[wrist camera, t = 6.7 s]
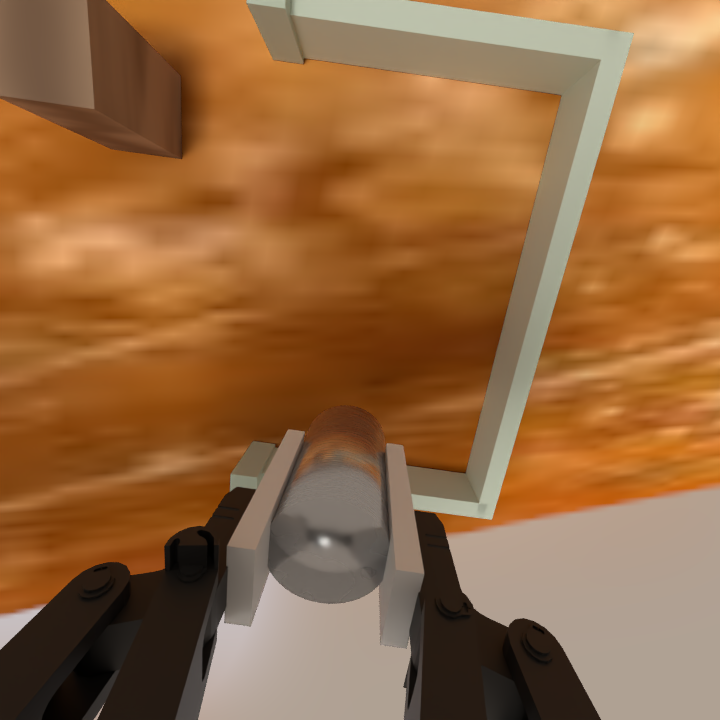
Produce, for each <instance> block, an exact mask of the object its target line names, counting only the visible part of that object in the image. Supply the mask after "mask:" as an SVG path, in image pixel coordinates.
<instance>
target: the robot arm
mask: <svg viewBox="0 0 720 720" xmlns="http://www.w3.org/2000/svg"><path fill="white" fill-rule="evenodd" d="M304 435H305V431H298V430H290V429H288V431H287V432H286V434H285V436H284V438H283V440H282V442H281V444H280V446H279V448H278V450H277V452H276V453H275V455H274V457H273V459H272V461H271V463H270V465H269V467H268V469H267V471H266V472H265V474H264V476H263V478H262V480H261V482H260V484H259V486H258V488H257V489H250V488H243V487H236V488H234V489H233V490H232V491H230V492H229V493H227V494H226V495H225V496H224V498H223V499H222V501H221V503H220V504H219V506H218V508H217V509H216V510H215V512H214V513H213V515H212V517H211V518H210V519H209V521H208V523H207V524H206V526H205V527H203V526H196V527H189V528H187V529H184V530H182V531H179V532H178V533H176V534H175V535H174V536H172V537H171V538H170V539H169V540H168V542H167V543H166V544H165V546H164V548H165V569H163V570H160V571H155V572H150V573H143V574H137V575H130V571H129V570H128V568H127V566H125V565H123V564H121V563H119V562H107V563H103V564H99V565H95V566H93V567H91V568H89V569H87V570H85V571H83V572H82V573H81V574H79V575H78V576H77V577H75V578H74V579H73V580H72V581H71V582H70V583H69V584H68V585H67V586H66V587H64V588H63V589H62V590H61V591H60V592H59V593H58V594H57V595H56V596H55V597H54V598H53V599H52V600H51V601H50V602H49V603H48V604H47V605H46V606H45V607H44V608H43V609H42V610H41V611H40V612H39V613H38V614H37V615H36V616H35V617H34V618H33V619H32V620H31V621H30V622H28V624H26V625H25V626H24V627H23V628H22V629H21V631H19V632H18V633H17V634H16V635H15V636H14V637H13V638H12V639H11V640H10V641H9V642H8V643H7V644H6V645H5V646H4V647H3V648H2V649H1V650H0V720H93V719H94V718H95V717H96V715H97V714H98V712H99V711H100V709H101V708H102V706H103V705H104V706H103V709H102V711H101V713H100V715H99V717H98V719H97V720H198V717H199V712H200V708H201V704H202V700H203V696H204V691H205V687H206V683H207V679H208V675H209V670H210V666H211V662H212V657H213V653H214V649H215V645H216V641H217V627H218V625H219V622H220V620H221V618H222V615H223V613H224V611H225V619H224V623H229V624H237V625H243V626H251V624H252V621H253V618H254V615H255V612H256V610H257V607H258V604H259V601H260V598H261V594H262V592H263V589H264V586H265V583H266V580H267V577H268V574H269V571H270V570H269V568H268V553H269V540H270V526H271V522H272V520H273V517H274V515H275V512H276V510H277V507H278V505H279V502H280V500H281V497H282V495H283V493H284V490H285V488H286V485H287V483H288V480H289V478H290V475H291V473H292V470H293V468H294V465H295V463H296V460H297V458H298V455H299V453H300V451H301V448H302V446H303V443H304ZM385 467H386V486H387V504H388V523H389V541H390V546H389V551H388V556H387V561H386V566H385V571H384V576H383V581H382V582H381V583H380V584H379V600H380V601H379V602H380V603H379V604H380V645H385V646H392V647H399V648H407V645H408V640H409V636H410V644H411V658H410V662H409V666H408V670H407V674H406V678H405V682H404V686H403V687H404V688H406V703H405V714H404V720H601V719H600V717H599V715H598V713H597V711H596V710H595V708H594V706H593V704H592V702H591V700H590V698H589V696H588V695H587V693H586V691H585V689H584V687H583V685H582V683H581V682H580V680H579V678H578V676H577V674H576V672H575V671H574V669H573V667H572V665H571V663H570V661H569V659H568V658H567V656H566V654H565V652H564V650H563V648H562V647H561V645H560V644H559V643H558V641H557V640H556V638H555V637H554V636H553V635H552V634H551V633H550V632H549V631H548V630H547V629H546V628H544V627H543V626H541V625H539V624H538V623H536V622H534V621H531V620H528V619H524V618H523V619H515V620H514V621H513V622H512V623H511V624H510V625H509V627H506V626H504V625H502V624H500V623H498V622H495V621H493V620H491V619H489V618H487V617H485V616H484V615H482V614H480V613H479V612H478V611H476V610H475V609H474V608H473V605H472V603H471V602H470V601H469V599H468V597H467V596H466V595H465V594H464V593H462V591H461V588H460V585H459V581H458V577H457V574H456V570H455V566H454V563H453V559H452V555H451V552H450V550H449V544H448V540H447V539H446V533H445V529H444V526H443V524H442V522H441V521H440V520H439V518H438V517H437V516H436V514H434V513H427V512H420V511H414V508H413V502H412V496H411V490H410V484H409V478H408V472H407V466H406V460H405V454H404V448H403V445H397V444H390V443H386V449H385ZM104 703H105V704H104Z"/></svg>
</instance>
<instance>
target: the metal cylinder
mask: <svg viewBox="0 0 720 720" xmlns="http://www.w3.org/2000/svg"><path fill="white" fill-rule="evenodd" d="M389 546H390V541H389V523H388V504H387V486H386V467H385V437H384V432H383V430H382V427H381V425H380V424H379V422H378V421H377V420H376V419H375V418H374V417H373V416H372V415H371V414H370V413H368V412H367V411H365V410H363V409H361V408H358V407H354V406H346V405H344V406H336V407H332V408H329V409H327V410H325V411H323V412H322V413H320V414H319V415H318V416H317V417H316V418H315V419H314V421H313V422H312V424H311V426H310V428H309V430H308V433H307V435H306V437H305V440H304V443H303V446H302V448H301V451H300V453H299V455H298V458H297V460H296V463H295V465H294V468H293V470H292V473H291V475H290V478H289V480H288V483H287V485H286V488H285V490H284V493H283V495H282V497H281V500H280V502H279V505H278V507H277V510H276V512H275V515H274V517H273V520H272V522H271V526H270V540H269V553H268V568H269V570H270V572H271V573H272V575H273V576H274V578H275V579H276V580H277V581H278V582H279V583H280V584H281V585H282V586H283V587H284V588H286V589H287V590H289V591H290V592H292V593H293V594H295V595H297V596H299V597H302V598H304V599H307V600H310V601H314V602H319V603H328V604H333V603H334V604H335V603H345V602H349V601H353V600H356V599H359V598H361V597H363V596H365V595H367V594H369V593H370V592H372V591H373V590H374V589H375V588H376V587H377V586H378V585H379V584H380V583H381V582H382V581H383V576H384V571H385V566H386V561H387V556H388V551H389Z"/></svg>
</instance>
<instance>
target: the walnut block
mask: <svg viewBox="0 0 720 720" xmlns="http://www.w3.org/2000/svg"><path fill="white" fill-rule="evenodd" d="M0 98H1V99H3V100H5V101H7V102H10V103H12V104H14V105H16V106H18V107H21V108H23V109H25V110H27V111H29V112H31V113H34V114H36V115H38V116H40V117H42V118H45V119H47V120H49V121H51V122H53V123H56V124H58V125H60V126H62V127H64V128H67V129H69V130H71V131H73V132H75V133H77V134H80V135H82V136H84V137H86V138H88V139H91V140H93V141H95V142H97V143H99V144H102V145H104V146H106V147H108V148H110V149H114V150H121V151H128V152H135V153H142V154H149V155H156V156H163V157H171V158H178V159H182V135H181V75H180V74H179V73H178V72H177V71H176V70H175V69H174V68H173V67H172V66H171V65H170V64H169V63H168V62H167V61H166V60H165V59H164V58H163V57H162V56H161V55H160V54H159V53H158V52H157V51H156V50H155V49H154V48H153V47H152V46H151V45H150V44H149V43H148V42H147V41H146V40H145V39H144V38H143V37H142V36H141V35H140V34H139V33H138V32H137V31H136V30H135V29H134V28H133V27H132V26H131V25H130V24H129V23H128V22H127V21H126V20H125V19H124V18H123V17H122V16H121V15H120V14H119V13H118V12H117V11H116V10H115V9H114V8H113V7H112V6H111V5H110V4H109V3H108V2H107V1H106V0H0Z"/></svg>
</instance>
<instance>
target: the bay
mask: <svg viewBox="0 0 720 720" xmlns="http://www.w3.org/2000/svg"><path fill="white" fill-rule="evenodd" d="M247 5H248V7H249V9H250V11H251V13H252V16H253V18H254V20H255V22H256V24H257V26H258V28H259V30H260V33H261V35H262V37H263V39H264V41H265V43H266V45H267V47H268V50H269V52H270V54H271V56H272V58H273V60H278V61H285V62H292V63H299V64H304V58H307V59H314V60H321V61H328V62H335V63H342V64H349V65H356V66H363V67H370V68H377V69H384V70H391V71H398V72H404V73H411V74H418V75H425V76H432V77H439V78H446V79H453V80H460V81H467V82H474V83H481V84H488V85H495V86H502V87H509V88H516V89H523V90H530V91H537V92H544V93H551V94H558V95H562V96H561V100H560V104H559V108H558V112H557V116H556V120H555V124H554V128H553V132H552V136H551V140H550V144H549V147H548V151H547V155H546V159H545V163H544V167H543V171H542V175H541V179H540V183H539V187H538V191H537V195H536V199H535V202H534V206H533V210H532V214H531V218H530V222H529V226H528V230H527V234H526V238H525V242H524V246H523V250H522V254H521V257H520V261H519V265H518V269H517V273H516V277H515V281H514V285H513V289H512V293H511V297H510V301H509V305H508V309H507V312H506V316H505V320H504V324H503V328H502V332H501V336H500V340H499V344H498V348H497V352H496V356H495V360H494V364H493V367H492V371H491V375H490V379H489V383H488V387H487V391H486V395H485V399H484V403H483V407H482V411H481V415H480V418H479V422H478V426H477V430H476V434H475V438H474V442H473V446H472V450H471V454H470V458H469V462H468V466H467V470H466V473H458V472H450V471H443V470H436V469H429V468H421V467H414V466H407V465H406V466H407V472H408V478H409V484H410V490H411V496H412V502H413V508H414V509H417V510H424V511H432V512H439V513H446V514H454V515H461V516H468V517H476V518H483V519H490V520H492V518H493V514H494V511H495V507H496V504H497V500H498V497H499V494H500V490H501V487H502V483H503V480H504V477H505V473H506V470H507V466H508V463H509V459H510V456H511V453H512V449H513V446H514V442H515V439H516V435H517V432H518V429H519V425H520V422H521V418H522V415H523V411H524V408H525V405H526V401H527V398H528V394H529V391H530V387H531V384H532V381H533V377H534V374H535V370H536V367H537V364H538V360H539V357H540V353H541V350H542V346H543V343H544V340H545V336H546V333H547V329H548V326H549V322H550V319H551V316H552V312H553V309H554V305H555V302H556V298H557V295H558V292H559V288H560V285H561V281H562V278H563V275H564V271H565V268H566V264H567V261H568V257H569V254H570V251H571V247H572V244H573V240H574V237H575V233H576V230H577V227H578V223H579V220H580V216H581V213H582V209H583V206H584V203H585V199H586V196H587V192H588V189H589V185H590V182H591V179H592V175H593V172H594V168H595V165H596V162H597V158H598V155H599V151H600V148H601V144H602V141H603V138H604V134H605V131H606V127H607V124H608V120H609V117H610V114H611V110H612V107H613V103H614V100H615V96H616V93H617V90H618V86H619V83H620V79H621V76H622V72H623V69H624V66H625V62H626V59H627V55H628V52H629V49H630V45H631V42H632V38H633V35H634V33H629V32H622V31H615V30H608V29H601V28H594V27H587V26H580V25H573V24H566V23H559V22H553V21H546V20H539V19H532V18H525V17H518V16H511V15H504V14H497V13H490V12H483V11H476V10H470V9H463V8H456V7H449V6H442V5H435V4H428V3H421V2H414V1H407V0H247ZM277 450H278V448H276V447H275V444H271V443H264V442H257V441H253V442H252V443H251V445H250V446H249V448H248V449H247V451H246V452H245V453H244V455H243V456H242V458H241V459H240V461H239V462H238V464H237V465H236V467H235V468H234V470H233V471H232V473H231V476H230V491H232V490H233V489H234V488H236V487H243V488H250V489H257V488H258V486H259V484H260V482H261V480H262V478H263V476H264V474H265V472H266V471H267V469H268V467H269V465H270V463H271V461H272V459H273V457H274V455H275V453H276V452H277Z"/></svg>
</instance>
